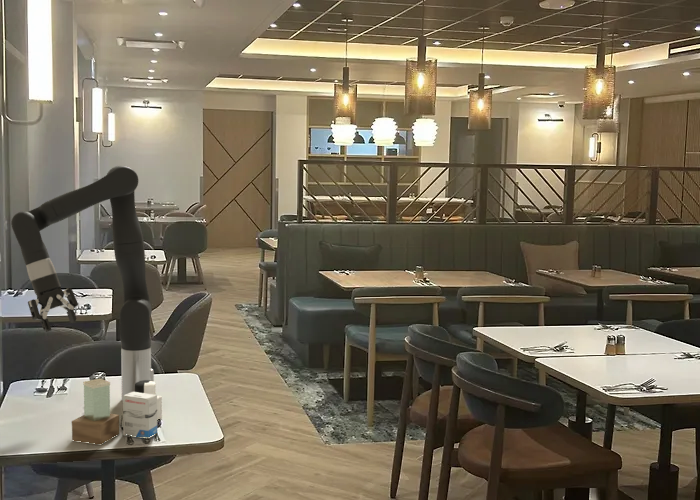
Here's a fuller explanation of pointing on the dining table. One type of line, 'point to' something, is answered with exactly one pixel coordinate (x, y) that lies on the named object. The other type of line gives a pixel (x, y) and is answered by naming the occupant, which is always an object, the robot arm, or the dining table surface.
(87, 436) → the walnut block
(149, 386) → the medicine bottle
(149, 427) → the ink box
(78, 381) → the dining table surface
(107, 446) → the dining table surface
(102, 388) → the tea tin
